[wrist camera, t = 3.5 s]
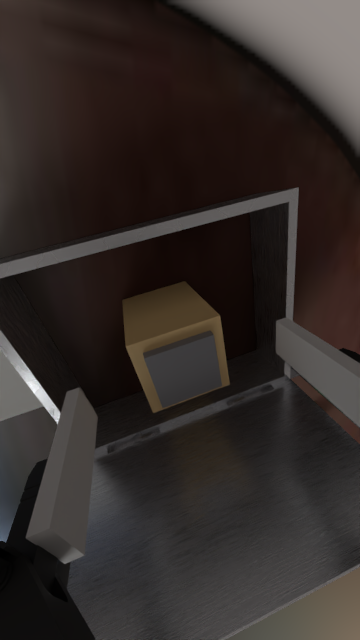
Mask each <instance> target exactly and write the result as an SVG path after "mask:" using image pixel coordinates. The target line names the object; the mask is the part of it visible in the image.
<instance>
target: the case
mask: <svg viewBox="0 0 360 640" xmlns="http://www.w3.org/2000/svg"><path fill="white" fill-rule="evenodd" d="M298 193H299V187H297V188H290V189H284V190H277V191H270V192H264V193H257V194H253V195H249V196H245V197H241V198H237V199H233V200H229V201H225V202H221V203H217V204H213V205H210V206H206V207H202V208H198V209H194V210H190V211H186V212H182V213H178V214H174V215H170V216H166V217H162V218H158V219H155V220H151V221H147V222H143V223H139V224H135V225H131V226H127V227H123V228H119V229H115V230H111V231H107V232H104V233H100V234H96V235H92V236H88V237H84V238H80V239H76V240H72V241H68V242H64V243H60V244H56V245H52V246H49V247H45V248H41V249H37V250H33V251H29V252H25V253H21V254H17V255H13V256H9V257H5V258H1V259H0V349H1V351H2V352H3V353H4V355H5V356H6V357H7V359H8V360H9V361H10V362H11V364H12V365H13V366H14V368H15V369H16V370H17V372H18V373H19V374H20V376H21V377H22V378H23V379H24V381H25V382H26V383H27V385H28V386H29V387H30V389H31V390H32V391H33V392H34V394H35V395H36V396H37V398H38V399H39V400H40V402H41V403H42V404H43V406H44V407H45V408H46V409H47V411H48V412H49V413H50V415H51V416H52V417H53V419H54V420H55V421H56V422H57V424H58V421H59V418H60V414H61V411H62V407H63V403H64V400H65V396H66V393H67V391H70V390H73V389H76V388H79V387H80V388H81V386H80V385H79V383H78V381H77V380H76V378H75V376H74V375H73V373H72V371H71V370H70V368H69V367H68V365H67V363H66V362H65V360H64V358H63V357H62V355H61V353H60V352H59V350H58V348H57V347H56V345H55V343H54V342H53V340H52V339H51V337H50V335H49V334H48V332H47V330H46V329H45V327H44V325H43V324H42V322H41V320H40V319H39V317H38V315H37V314H36V312H35V310H34V309H33V307H32V306H31V304H30V302H29V301H28V299H27V297H26V296H25V294H24V292H23V291H22V289H21V287H20V286H19V284H18V282H17V281H16V279H15V278H14V276H13V275H15V274H18V273H22V272H26V271H30V270H34V269H37V268H41V267H45V266H49V265H52V264H56V263H60V262H64V261H67V260H71V259H75V258H79V257H82V256H86V255H90V254H94V253H97V252H101V251H105V250H109V249H113V248H116V247H120V246H124V245H128V244H131V243H135V242H139V241H143V240H146V239H150V238H154V237H158V236H161V235H165V234H169V233H173V232H176V231H180V230H184V229H188V228H192V227H195V226H199V225H203V224H207V223H210V222H214V221H218V220H222V219H225V218H229V217H233V216H237V215H240V214H244V213H248V212H250V230H251V250H252V269H253V288H254V308H255V327H256V346H257V350H254V351H252V352H249V353H246V354H243V355H240V356H238V357H235V358H232V359H229V360H227V368H228V375H229V382H230V385H227V386H224V387H222V388H219V389H216V390H214V391H211V392H208V393H206V394H203V395H200V396H198V397H195V398H192V399H190V400H187V401H184V402H182V403H179V404H176V405H174V406H171V407H168V408H166V409H163V410H160V411H158V412H155V413H153V411H152V409H151V407H150V404H149V402H148V399H147V397H146V395H145V392H144V390H143V391H140V392H137V393H135V394H132V395H129V396H126V397H124V398H121V399H118V400H115V401H112V402H110V403H107V404H104V405H101V406H98V407H96V408H93V406H92V404H91V403H90V401H89V400H88V398H87V396H86V395H85V393H84V391H83V390H82V388H81V390H82V392H83V393H84V395H85V397H86V398H87V400H88V401H89V403H90V405H91V406H92V408H93V410H94V411H95V413H96V414H97V416H98V421H97V431H96V442H95V452H94V463H93V473H92V484H91V494H90V504H89V515H88V525H87V536H86V546H85V555H84V556H82V557H80V558H78V559H75V560H73V561H71V563H70V571H69V578H68V586H67V590H68V592H69V594H70V596H71V597H72V599H73V601H74V603H75V604H76V606H77V608H78V609H79V611H80V613H81V615H82V616H83V618H84V620H85V621H86V623H87V625H88V627H89V628H90V630H91V632H92V634H93V635H94V637H95V639H96V640H226V639H227V638H229V637H231V636H233V635H235V634H237V633H238V632H241V631H242V630H244V629H246V628H248V627H250V626H252V625H253V624H255V623H257V622H259V621H261V620H263V619H265V618H266V617H268V616H270V615H272V614H274V613H276V612H277V611H279V610H281V609H283V608H285V607H287V606H288V605H290V604H292V603H294V602H296V601H298V600H300V599H301V598H303V597H305V596H307V595H309V594H310V593H312V592H314V591H316V590H318V589H320V588H322V587H323V586H325V585H327V584H329V583H331V582H333V581H335V580H336V579H338V578H340V577H342V576H344V575H346V574H348V573H349V572H351V571H353V570H355V569H357V568H359V567H360V444H359V443H358V442H356V441H355V440H354V439H353V438H352V437H351V436H350V435H349V434H348V433H347V432H346V431H345V430H344V429H343V428H342V427H341V426H340V425H338V424H337V423H336V422H335V421H334V420H333V419H332V418H331V417H330V416H329V415H328V414H327V413H326V412H325V411H324V410H323V409H322V408H320V407H319V406H318V405H317V404H316V403H315V402H314V401H313V400H312V399H311V398H310V397H309V396H308V395H307V394H306V393H305V392H304V391H302V390H301V389H300V388H299V387H298V386H297V385H296V384H295V383H294V382H293V381H292V380H291V378H294V377H296V376H299V375H300V374H299V373H298V372H297V371H296V370H295V369H293V368H292V367H291V366H290V365H289V364H288V363H287V362H286V361H284V360H283V359H282V358H281V357H280V356H279V355H278V354H277V353H276V321H277V320H280V319H283V318H288V319H289V320H291V321H293V304H294V282H295V260H296V237H297V215H298ZM300 376H301V375H300ZM301 377H302V376H301ZM302 378H303V379H304V380H305V381H306V382H308V381H307V380H306V379H305V378H304V377H302ZM308 383H309V382H308ZM309 384H310V383H309ZM310 385H311V384H310ZM311 386H312V387H313V388H314V389H315V390H317V389H316V388H315V387H314V386H313V385H311ZM317 391H318V390H317ZM318 392H319V391H318ZM319 393H320V392H319ZM320 394H321V395H322V396H323V397H325V396H324V395H323V394H322V393H320ZM325 398H326V397H325ZM326 399H327V398H326ZM327 400H328V399H327ZM328 401H329V402H330V403H331V404H333V403H332V402H331V401H330V400H328ZM333 405H334V404H333ZM334 406H335V405H334ZM335 407H336V406H335ZM336 408H337V407H336ZM337 409H338V410H339V411H341V410H340V409H339V408H337ZM341 412H342V411H341ZM342 413H343V412H342ZM343 414H344V413H343ZM344 415H345V414H344ZM345 416H346V415H345ZM346 417H347V418H349V417H348V416H346ZM349 419H350V418H349ZM350 420H351V419H350ZM351 421H352V420H351ZM352 422H353V421H352ZM353 423H354V422H353ZM354 424H355V423H354ZM355 425H357V424H355ZM357 426H358V425H357ZM358 427H359V426H358ZM359 428H360V427H359Z"/></svg>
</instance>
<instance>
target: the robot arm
mask: <svg viewBox="0 0 360 640" xmlns="http://www.w3.org/2000/svg"><path fill="white" fill-rule="evenodd" d="M276 353H277V354H278V355H279V356H280V357H281V358H282V359H283V360H284V361H286V362H287V363H288V364H289V365H290V366H291V367H292V368H293V369H295V370H296V371H297V372H298V373H299V374H300V375H301V376H302V377H304V378H305V379H306V380H307V381H308V382H309V383H310V384H311V385H313V386H314V387H315V388H316V389H317V390H318V391H319V392H320V393H322V394H323V395H324V396H325V397H326V398H327V399H328V400H330V401H331V402H332V403H333V404H334V405H335V406H336V407H337V408H339V409H340V410H341V411H342V412H343V413H344V414H345V415H346V416H348V417H349V418H350V419H351V420H352V421H353V422H354V423H355V424H357V425H358V426H359V427H360V355H359V354H357V353H356V352H353V351H350V350H347V349H344V348H342V349H340V350H338V349H336V348H334V347H333V346H331V345H330V344H328V343H326V342H325V341H323V340H322V339H320V338H318V337H317V336H315V335H314V334H312V333H310V332H309V331H307V330H305V329H304V328H302V327H301V326H299V325H297V324H296V323H294V322H293V321H291V320H289V319H288V318H283V319H280V320H277V321H276ZM97 421H98V416H97V414H96V413H95V411H94V410H93V408H92V406H91V405H90V403H89V401H88V400H87V398H86V397H85V395H84V393H83V392H82V390H81V388H80V387H79V388H76V389H73V390H70V391H67V393H66V396H65V400H64V403H63V407H62V411H61V414H60V418H59V421H58V425H57V428H56V432H55V435H54V439H53V442H52V446H51V450H50V453H49V457H48V459H45V460H43V461H40V462H37V464H36V465H35V467H34V468H33V470H32V472H31V473H30V475H29V477H28V480H27V483H26V486H25V489H24V492H23V495H22V498H21V500H20V501H21V503H20V504H19V506H18V509H17V512H16V515H15V518H14V521H13V524H12V527H11V530H10V533H9V536H8V539H7V542H6V543H5V542H4V541H0V640H96V639H95V637H94V635H93V634H92V632H91V630H90V628H89V627H88V625H87V623H86V621H85V620H84V618H83V616H82V615H81V613H80V611H79V609H78V608H77V606H76V604H75V603H74V601H73V599H72V597H71V596H70V594H69V592H68V590H67V586H68V578H69V571H70V563H71V561H73V560H75V559H78V558H80V557H82V556H84V555H85V546H86V536H87V525H88V515H89V504H90V494H91V484H92V473H93V463H94V452H95V442H96V431H97Z"/></svg>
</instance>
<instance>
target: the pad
mask: <svg viewBox="0 0 360 640" xmlns="http://www.w3.org/2000/svg"><path fill="white" fill-rule="evenodd" d="M40 407H43V404H42V403H41V402H40V400H39V399H38V398H37V396H36V395H35V394H34V392H33V391H32V390H31V389H30V387H29V386H28V385H27V383H26V382H25V381H24V379H23V378H22V377H21V376H20V374H19V373H18V372H17V370H16V369H15V368H14V366H13V365H12V364H11V362H10V361H9V360H8V359H7V357H6V356H5V355H4V353H3V352H2V351H1V349H0V421H3V420H6V419H9V418H12V417H14V416H17V415H20V414H23V413H26V412H29V411H32V410H35V409H37V408H40Z"/></svg>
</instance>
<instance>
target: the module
mask: <svg viewBox="0 0 360 640" xmlns="http://www.w3.org/2000/svg"><path fill="white" fill-rule="evenodd" d="M122 303H123V317H124V331H125V345H126V349H127V351H128V354H129V356H130V358H131V361H132V363H133V366H134V368H135V370H136V373H137V375H138V378H139V380H140V383H141V385H142V387H143V390H144V392H145V395H146V397H147V399H148V402H149V404H150V407H151V409H152V411H153V413H155V412H158V411H160V410H163V409H166V408H168V407H171V406H174V405H176V404H179V403H182V402H184V401H187V400H190V399H192V398H195V397H198V396H200V395H203V394H206V393H208V392H211V391H214V390H216V389H219V388H222V387H224V386H227V385H230V382H229V375H228V368H227V361H226V353H225V346H224V339H223V332H222V325H221V318H220V315H219V314H218V313H217V312H216V311H215V310H214V309H213V308H212V307H211V306H210V305H209V304H208V303H207V302H206V301H205V300H204V299H203V298H202V297H201V296H200V295H199V294H197V293H196V292H195V291H194V290H193V289H192V288H191V287H190V286H189V285H188V284H187V283H186V282H185V281H183V282H180V283H177V284H173V285H170V286H167V287H163V288H160V289H157V290H153V291H150V292H147V293H143V294H140V295H137V296H133V297H130V298H127V299H123V300H122Z"/></svg>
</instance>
